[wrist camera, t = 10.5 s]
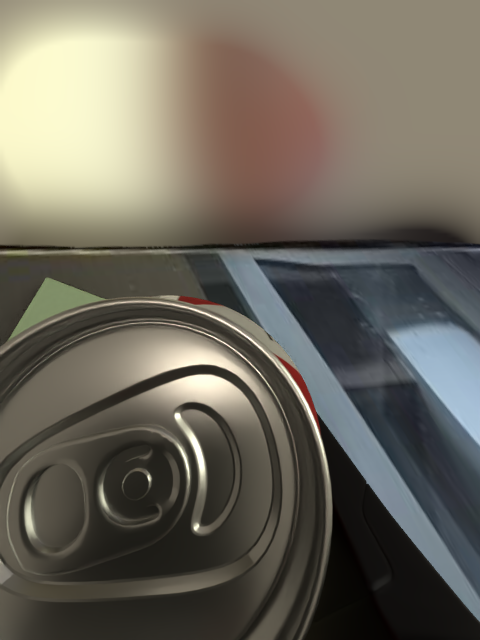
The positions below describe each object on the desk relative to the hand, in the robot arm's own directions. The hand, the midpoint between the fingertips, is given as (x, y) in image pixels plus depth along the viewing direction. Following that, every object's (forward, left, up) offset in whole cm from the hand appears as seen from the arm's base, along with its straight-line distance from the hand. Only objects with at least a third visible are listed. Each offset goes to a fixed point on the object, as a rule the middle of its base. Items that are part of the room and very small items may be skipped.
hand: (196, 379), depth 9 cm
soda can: (0, +1, -7) cm, 7 cm away
